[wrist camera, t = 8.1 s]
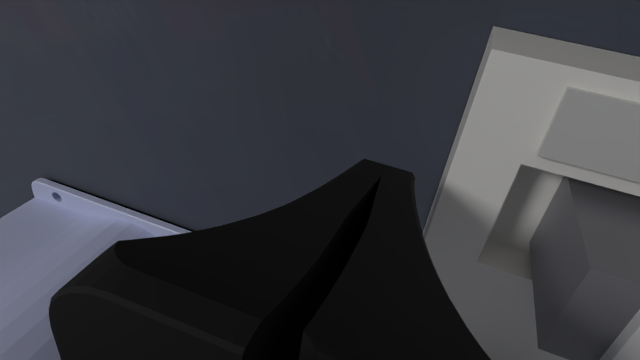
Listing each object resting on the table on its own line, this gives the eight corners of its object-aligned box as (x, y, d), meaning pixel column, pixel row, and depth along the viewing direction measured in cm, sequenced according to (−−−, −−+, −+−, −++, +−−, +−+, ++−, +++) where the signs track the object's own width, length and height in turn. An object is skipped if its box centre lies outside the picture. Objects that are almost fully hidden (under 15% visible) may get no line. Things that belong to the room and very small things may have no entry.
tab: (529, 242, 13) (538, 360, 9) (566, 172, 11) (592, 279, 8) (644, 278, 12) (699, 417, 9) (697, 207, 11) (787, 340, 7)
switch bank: (376, 369, 20) (360, 424, 17) (493, 26, 11) (491, 51, 9) (703, 499, 17) (732, 583, 15) (1173, 170, 9) (1392, 253, 6)
